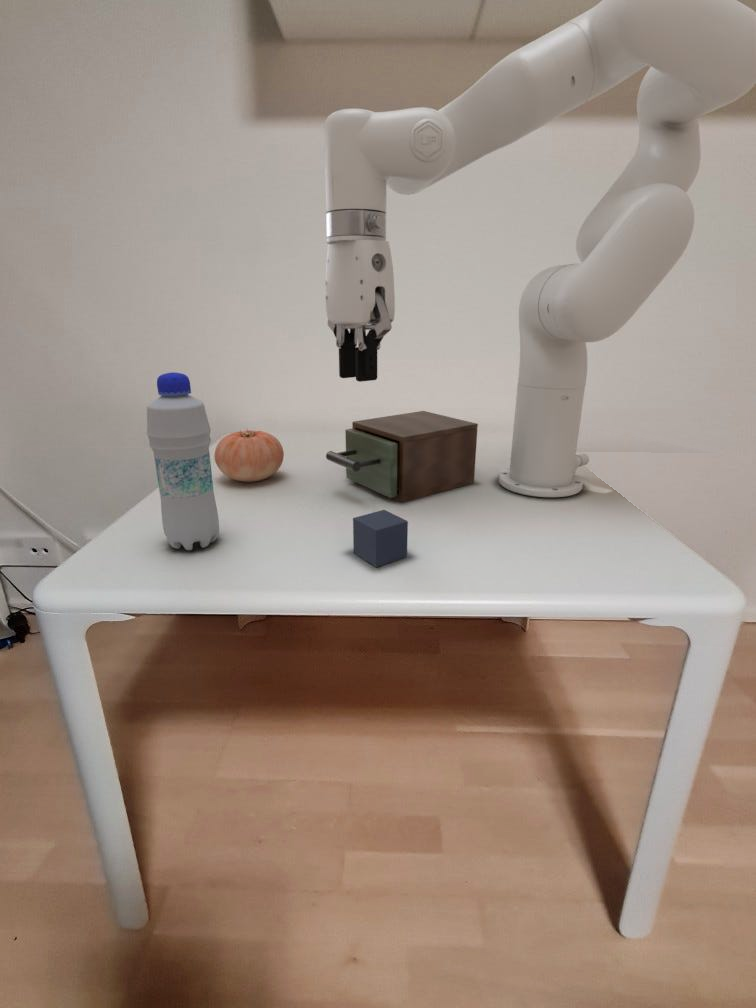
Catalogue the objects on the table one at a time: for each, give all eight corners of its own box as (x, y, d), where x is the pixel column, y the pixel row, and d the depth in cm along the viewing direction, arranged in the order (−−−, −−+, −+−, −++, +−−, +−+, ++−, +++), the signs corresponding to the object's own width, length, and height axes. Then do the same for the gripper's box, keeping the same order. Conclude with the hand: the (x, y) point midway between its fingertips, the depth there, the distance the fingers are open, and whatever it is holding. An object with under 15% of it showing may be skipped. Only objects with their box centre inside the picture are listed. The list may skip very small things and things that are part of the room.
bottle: (201, 526, 70) (182, 367, 63) (234, 540, 66) (216, 371, 59) (152, 544, 65) (125, 373, 58) (184, 560, 61) (159, 378, 54)
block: (383, 543, 65) (384, 509, 63) (407, 556, 62) (408, 521, 60) (353, 553, 63) (352, 517, 61) (376, 567, 59) (376, 530, 58)
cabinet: (402, 502, 78) (403, 437, 75) (353, 480, 87) (352, 421, 84) (473, 483, 86) (477, 423, 83) (421, 464, 96) (423, 410, 92)
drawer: (362, 505, 74) (361, 450, 72) (319, 483, 83) (317, 433, 80) (458, 480, 85) (461, 431, 82) (411, 463, 93) (413, 418, 90)
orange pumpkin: (266, 492, 82) (262, 440, 79) (203, 485, 85) (197, 435, 82) (295, 471, 92) (293, 425, 89) (238, 466, 95) (234, 421, 92)
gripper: (421, 226, 64) (417, 383, 71) (345, 237, 77) (347, 370, 83) (370, 221, 60) (371, 389, 67) (298, 234, 72) (304, 374, 79)
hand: (358, 377), depth 75 cm, fingers open, 3 cm apart
